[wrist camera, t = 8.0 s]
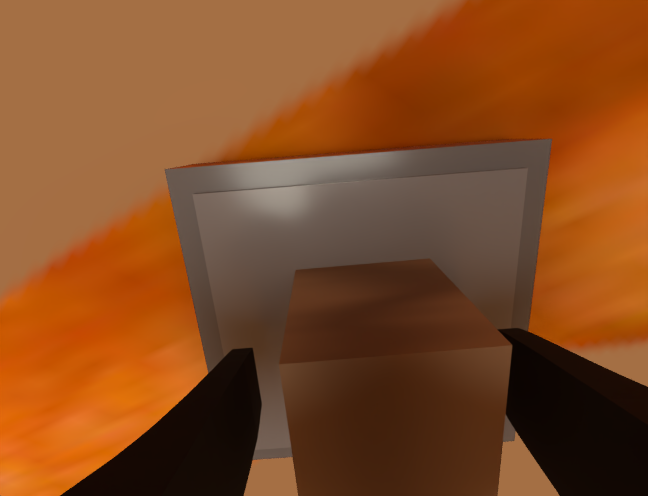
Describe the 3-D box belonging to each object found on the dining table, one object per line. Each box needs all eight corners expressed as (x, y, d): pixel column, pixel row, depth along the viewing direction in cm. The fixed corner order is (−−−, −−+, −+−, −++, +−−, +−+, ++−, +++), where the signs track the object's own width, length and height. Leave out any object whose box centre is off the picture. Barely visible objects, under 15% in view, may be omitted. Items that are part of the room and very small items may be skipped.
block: (429, 258, 11) (512, 345, 6) (428, 371, 13) (495, 512, 8) (295, 269, 11) (278, 364, 6) (308, 380, 13) (303, 526, 8)
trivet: (508, 139, 13) (557, 138, 10) (485, 397, 16) (517, 446, 14) (193, 164, 13) (161, 170, 10) (240, 415, 16) (225, 467, 14)
